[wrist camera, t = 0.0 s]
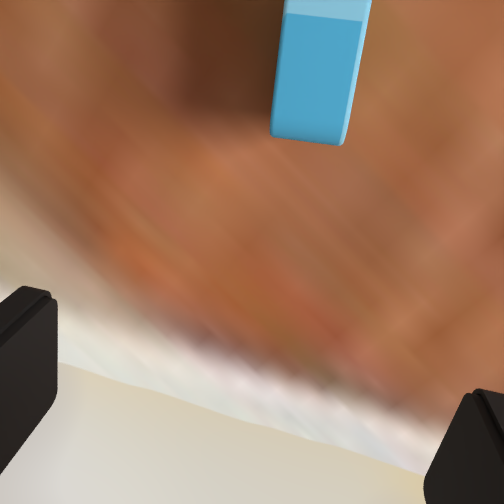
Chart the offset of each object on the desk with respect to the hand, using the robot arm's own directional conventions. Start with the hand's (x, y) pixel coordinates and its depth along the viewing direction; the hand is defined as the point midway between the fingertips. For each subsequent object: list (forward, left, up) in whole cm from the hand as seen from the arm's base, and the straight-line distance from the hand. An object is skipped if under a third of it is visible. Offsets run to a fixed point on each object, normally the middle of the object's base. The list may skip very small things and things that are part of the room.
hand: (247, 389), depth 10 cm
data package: (-8, 0, -32) cm, 32 cm away
